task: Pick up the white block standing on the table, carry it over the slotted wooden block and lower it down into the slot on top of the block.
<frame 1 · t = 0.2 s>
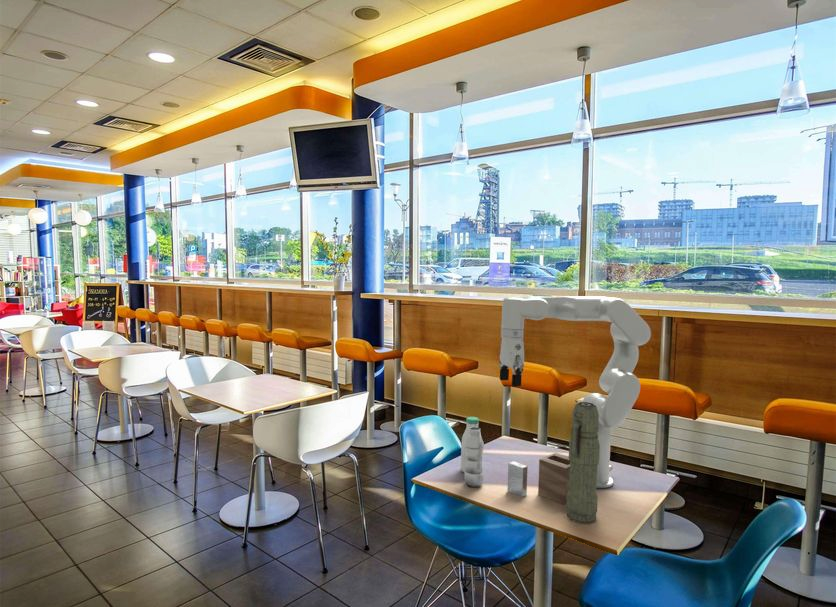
hand: (510, 383, 175), 36 cm above the table, tool pointing down, fingers open, 9 cm apart
white block: (516, 493, 171), on the table
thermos: (581, 517, 156), on the table
slotted wooden block: (559, 495, 171), on the table
milk bottle: (471, 471, 190), on the table
plastic bottle: (473, 485, 177), on the table
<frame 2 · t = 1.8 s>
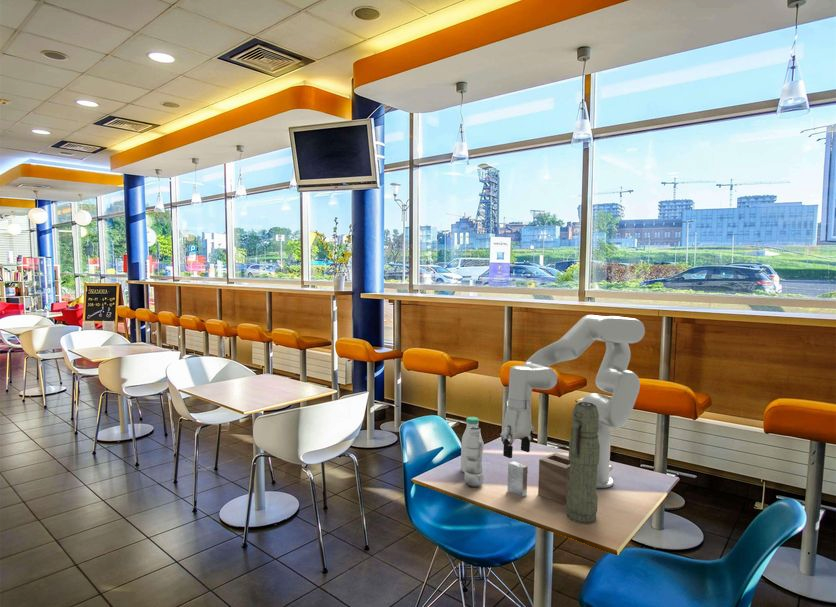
hand: (516, 454, 170), 14 cm above the table, tool pointing down, fingers open, 9 cm apart
nothing on the table moved.
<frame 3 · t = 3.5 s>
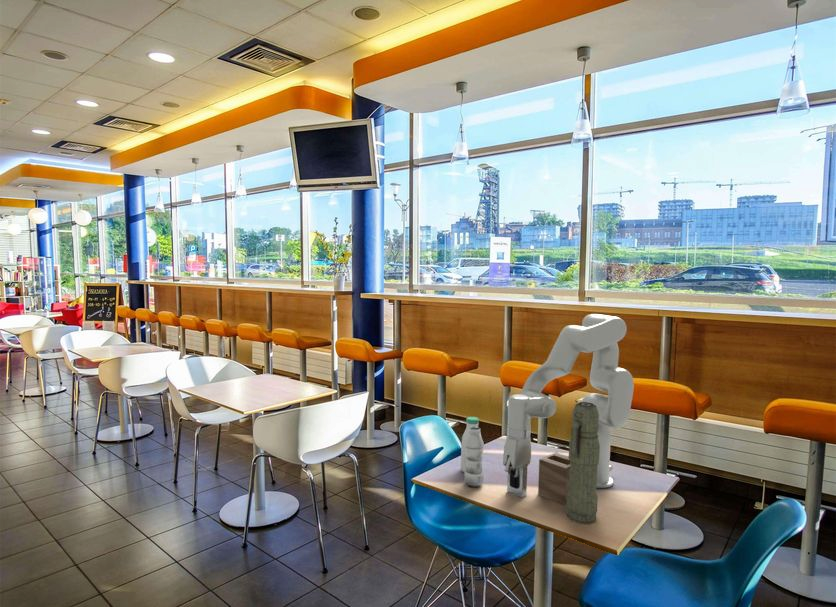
hand: (516, 485, 171), 3 cm above the table, tool pointing down, fingers closed on white block, 2 cm apart
white block: (516, 493, 171), on the table, touching gripper
everything else where it was.
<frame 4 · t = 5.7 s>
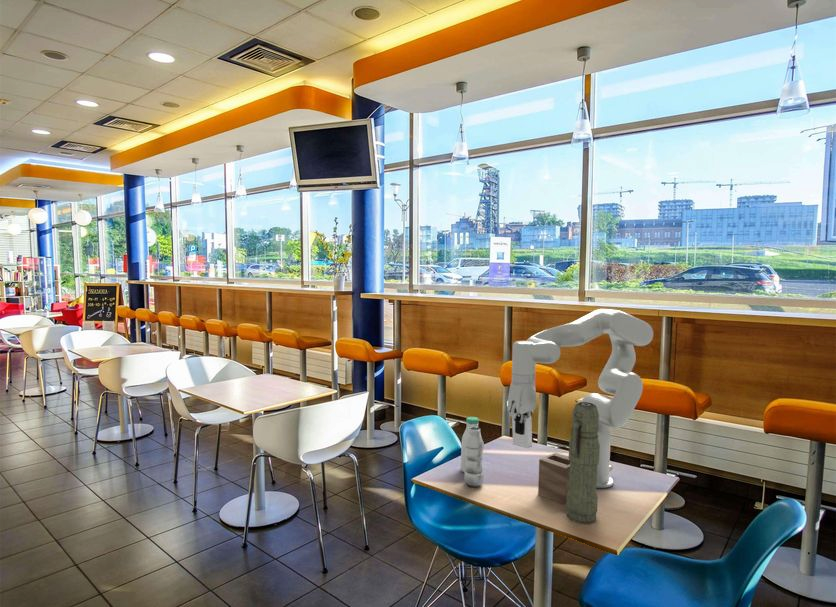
hand: (522, 432, 170), 21 cm above the table, tool pointing down, fingers closed on white block
white block: (522, 445, 170), point 17 cm above the table, touching gripper
everything else where it was.
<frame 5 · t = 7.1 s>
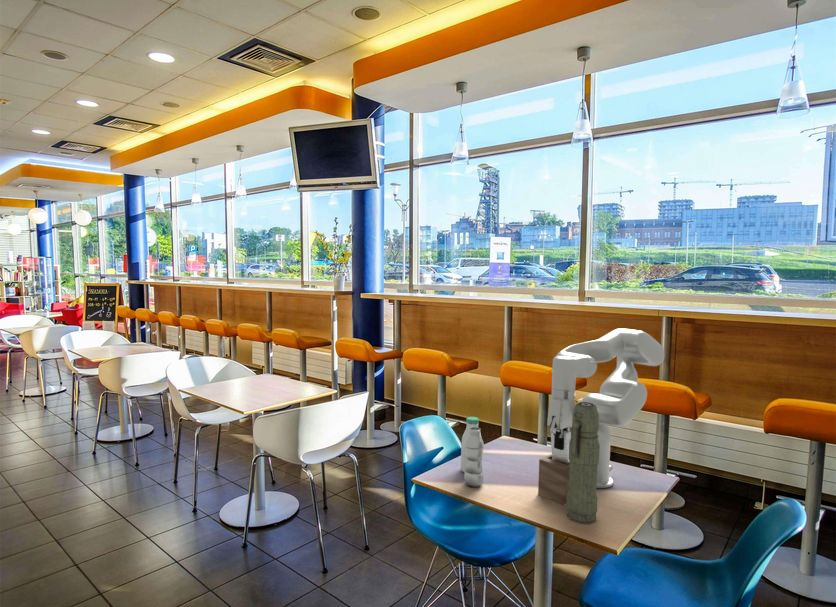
hand: (561, 447, 170), 16 cm above the table, tool pointing down, fingers closed on white block
white block: (562, 461, 170), point 12 cm above the table, tilted 5°, touching gripper
everything else where it was.
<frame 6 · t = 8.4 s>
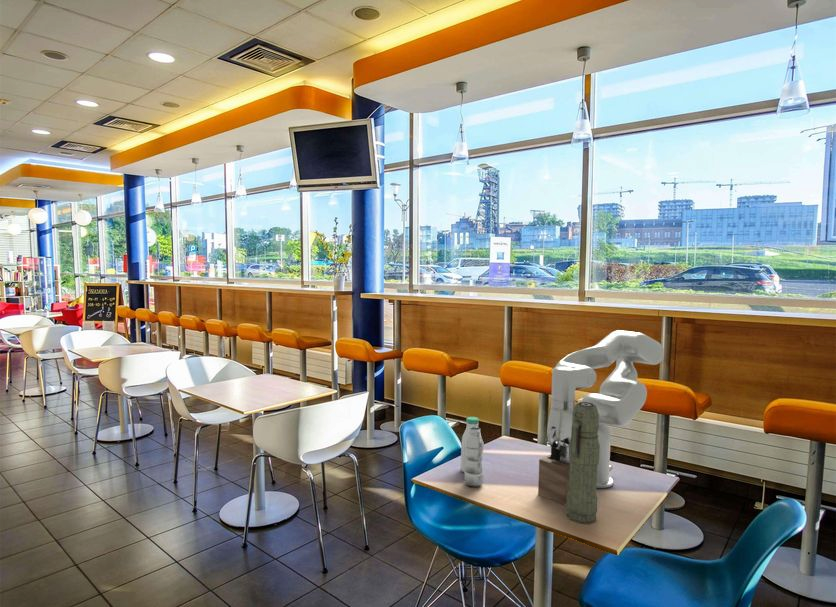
hand: (560, 457, 170), 13 cm above the table, tool pointing down, fingers open, 5 cm apart
white block: (562, 473, 170), point 7 cm above the table, touching slotted wooden block
everything else where it was.
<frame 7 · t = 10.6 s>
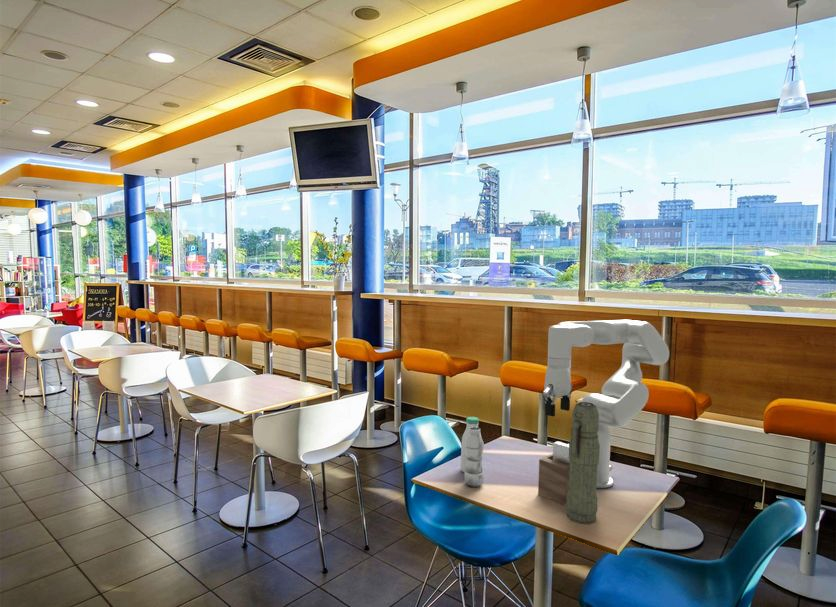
hand: (557, 412, 171), 27 cm above the table, tool pointing down, fingers open, 9 cm apart
nothing on the table moved.
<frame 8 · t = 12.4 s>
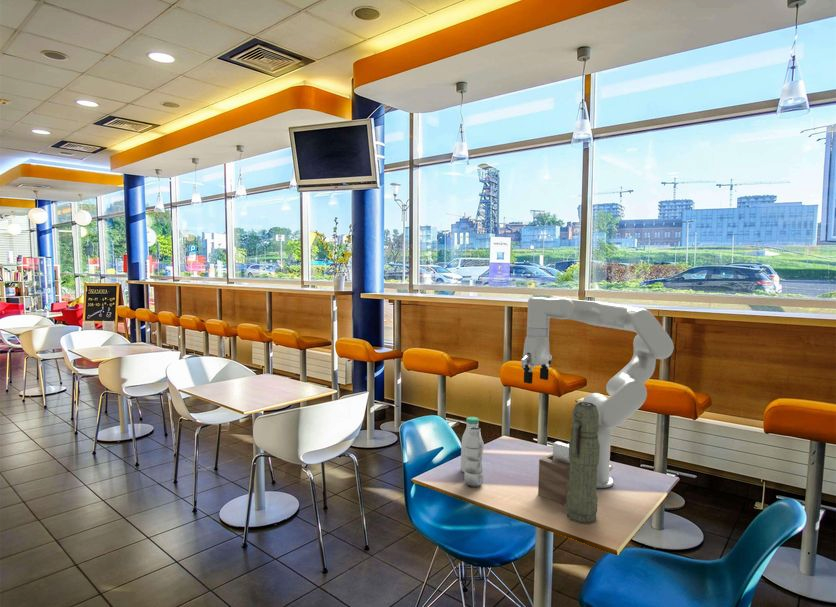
hand: (536, 381, 179), 36 cm above the table, tool pointing down, fingers open, 9 cm apart
nothing on the table moved.
at the end: white block 0.7 cm off-centre on the slotted wooden block, point 7.5 cm above the slotted wooden block's base; white block tilted 0°; the gripper is holding nothing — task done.
